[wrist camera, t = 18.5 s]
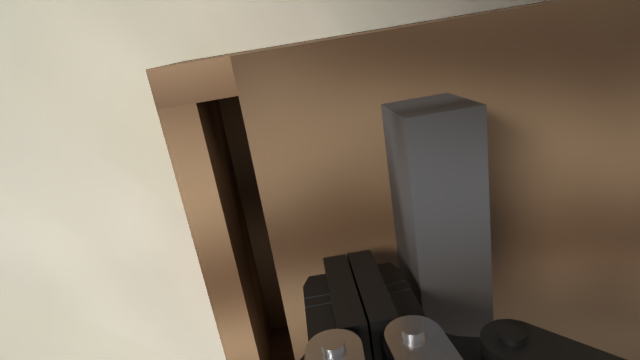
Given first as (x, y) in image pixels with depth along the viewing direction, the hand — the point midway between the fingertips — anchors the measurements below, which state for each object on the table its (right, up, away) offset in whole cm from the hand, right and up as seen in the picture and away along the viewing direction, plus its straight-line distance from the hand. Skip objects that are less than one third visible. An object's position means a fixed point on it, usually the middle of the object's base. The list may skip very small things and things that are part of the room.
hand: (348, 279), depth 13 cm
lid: (+8, +2, +2) cm, 8 cm away
